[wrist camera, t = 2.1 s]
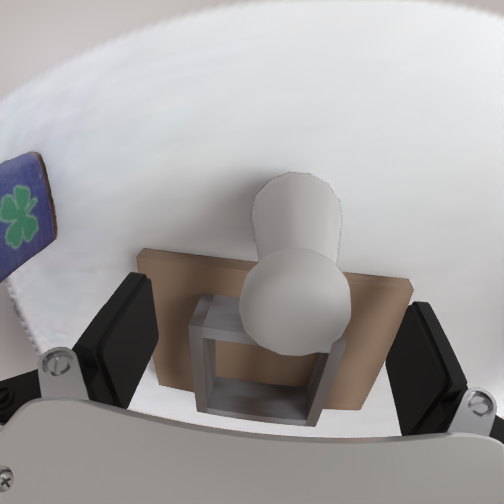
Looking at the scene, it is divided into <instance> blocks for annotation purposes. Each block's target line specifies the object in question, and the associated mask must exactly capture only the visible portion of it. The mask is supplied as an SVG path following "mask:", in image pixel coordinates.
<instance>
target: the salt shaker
mask: <svg viewBox="0 0 504 504" xmlns="http://www.w3.org/2000/svg"><path fill="white" fill-rule="evenodd" d="M251 216H252V222H253V228H254V234H255V240H256V246H257V252H258V261H259V263H258V264H257V265H256V266H255V267H254V268H253V269H251V270H250V271H249V272H248V274H247V276H246V278H245V281H244V284H243V288H242V293H241V297H240V301H239V313H240V316H241V320H242V323H243V326H244V330H245V332H246V333H247V334H248V335H250V336H251V337H252V338H253V339H254V340H255V341H256V342H257V343H258V344H259V345H260V346H262V347H264V348H267V349H269V350H271V351H274V352H276V353H278V354H281V355H291V356H303V355H307V354H311V353H315V352H319V351H322V350H324V349H325V348H327V347H328V346H330V345H331V344H332V343H334V342H335V341H336V340H337V339H339V338H340V337H341V336H342V334H343V332H344V330H345V328H346V327H347V325H348V323H349V321H350V319H351V298H350V288H349V285H348V282H347V279H346V278H345V276H344V275H343V273H342V272H341V270H340V269H339V267H338V266H337V259H338V251H339V243H340V235H341V226H342V214H341V207H340V201H339V199H338V198H337V196H336V195H335V193H334V192H333V190H332V189H331V187H330V186H329V184H328V183H326V182H324V181H322V180H321V179H319V178H317V177H315V176H313V175H311V174H309V173H296V172H288V173H285V174H283V175H281V176H278V177H276V178H274V179H272V180H270V181H269V182H268V183H267V184H266V185H265V186H264V187H263V188H262V189H261V190H260V191H259V192H258V194H257V195H256V196H255V200H254V205H253V209H252V214H251Z"/></svg>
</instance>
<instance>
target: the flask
mask: <svg viewBox="0 0 504 504" xmlns="http://www.w3.org/2000/svg"><path fill="white" fill-rule="evenodd" d="M56 237H57V223H56V215H55V206H54V203H53V199H52V196H51V189H50V185H49V180H48V175H47V172H46V167H45V164H44V162H43V160H42V157H41V155H40V154H39V153H38V152H28V153H26V154H23V155H21V156H19V157H16V158H14V159H11V160H8V161H5V162H3V163H1V164H0V283H1V282H2V281H3V280H4V279H5V278H7V277H8V276H9V275H10V274H11V273H12V272H14V271H15V270H16V269H17V268H19V267H20V266H21V265H22V264H24V263H25V262H26V261H28V260H29V259H30V258H32V257H33V256H35V255H36V254H37V253H39V252H40V251H42V250H43V249H44V248H45V247H47V246H48V245H49V244H50V243H52V242H53V241H54V240H55V239H56Z"/></svg>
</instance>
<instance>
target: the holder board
mask: <svg viewBox="0 0 504 504" xmlns="http://www.w3.org/2000/svg"><path fill="white" fill-rule="evenodd" d="M258 263H259V262H251V261H242V260H234V259H225V258H217V257H209V256H200V255H192V254H184V253H176V252H168V251H160V250H152V249H143V250H142V251H141V253H140V254H139V255H138V256H137V264H138V272H139V273H142V274H146V276H147V278H149V279H151V282H152V290H153V297H154V305H155V312H156V318H157V325H158V331H159V340H158V343H157V345H156V347H155V350H154V352H153V359H154V364H155V369H156V373H157V378H158V382H159V385H162V386H167V387H171V388H176V389H180V390H185V391H190V392H195V399H196V407H197V412H202V413H208V414H213V415H219V416H225V417H231V418H237V419H244V420H251V421H259V422H267V423H276V424H286V425H297V426H311V427H315V426H316V424H317V421H318V419H319V417H320V414H321V412H322V409H336V410H360V409H361V407H362V405H363V404H364V402H365V400H366V398H367V396H368V394H369V392H370V390H371V388H372V386H373V384H374V382H375V380H376V378H377V376H378V374H379V372H380V370H381V367H382V365H383V363H384V361H385V359H386V357H387V354H388V352H389V350H390V348H391V345H392V343H393V341H394V338H395V336H396V334H397V331H398V329H399V326H400V324H401V322H402V319H403V316H404V314H405V311H406V309H407V306H408V304H409V301H410V298H411V295H412V293H413V290H414V289H413V287H412V285H411V283H410V281H409V279H402V278H393V277H383V276H374V275H365V274H356V273H347V272H342V273H343V275H344V276H345V278H346V279H347V282H348V285H349V288H350V298H351V319H350V321H349V323H348V325H347V327H346V328H345V330H344V332H343V334H342V336H341V337H340V338H339V339H337V340H336V341H335V342H334V343H332V344H331V345H330V346H328V347H327V348H325V349H324V350H322V351H319V352H315V353H311V354H307V355H303V356H291V355H281V354H278V353H276V352H274V351H271V350H269V349H267V348H264V347H262V346H260V345H259V344H258V343H257V342H256V341H255V340H254V339H253V338H252V337H251V336H250V335H248V334H247V333H246V332H245V330H244V326H243V323H242V320H241V316H240V313H239V301H240V297H241V293H242V288H243V284H244V281H245V278H246V276H247V274H248V272H249V271H250V270H251V269H253V268H254V267H255V266H256V265H257V264H258Z"/></svg>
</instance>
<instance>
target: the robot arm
mask: <svg viewBox="0 0 504 504" xmlns="http://www.w3.org/2000/svg"><path fill="white" fill-rule="evenodd" d="M158 340H159V331H158V325H157V318H156V312H155V305H154V297H153V290H152V282H151V279H149V278H147V276H146V274H142V273H135V272H130V273H129V274H128V276H127V277H126V278H125V279H124V281H123V282H122V283H121V284H120V286H119V287H118V288H117V290H116V291H115V292H114V294H113V295H112V296H111V298H110V299H109V300H108V302H107V303H106V304H105V305H104V306H103V307H102V308H101V309H100V311H99V312H98V313H97V315H96V316H95V318H94V319H93V320H92V322H91V323H90V324H89V326H88V327H87V329H86V330H85V331H84V333H83V334H82V335H81V337H80V338H79V340H78V341H77V343H76V344H75V345H74V347H73V348H72V350H71V349H69V348H67V347H56V348H52V349H50V350H48V351H47V352H45V353H44V354H43V355H42V356H41V357H40V359H39V361H38V369H37V370H34V371H31V372H28V373H25V374H21V375H18V376H15V377H12V378H9V379H6V380H3V381H0V504H504V420H503V419H502V418H500V417H498V416H497V415H496V411H497V406H496V402H495V400H494V398H493V396H492V395H491V394H490V393H489V392H487V391H486V390H484V389H481V388H476V387H474V388H470V389H469V390H468V387H467V385H466V384H467V383H468V382H467V380H466V378H465V375H464V373H463V371H462V369H461V366H460V364H459V362H458V360H457V358H456V356H455V353H454V351H453V349H452V347H451V345H450V343H449V341H448V339H447V337H446V335H445V333H444V331H443V329H442V327H441V325H440V323H439V321H438V319H437V317H436V315H435V313H434V311H433V310H432V308H431V306H430V304H429V303H428V302H413V303H412V305H409V306H408V307H407V309H406V312H405V314H404V317H403V319H402V322H401V324H400V327H399V329H398V331H397V334H396V336H395V339H394V341H393V343H392V345H391V348H390V350H389V352H388V354H387V357H386V362H385V365H386V369H387V373H388V377H389V381H390V385H391V389H392V394H393V398H394V402H395V407H396V411H397V416H398V420H399V425H400V430H401V434H402V436H392V437H371V438H319V437H296V436H282V435H270V434H259V433H250V432H242V431H234V430H227V429H220V428H213V427H207V426H201V425H196V424H190V423H185V422H180V421H175V420H170V419H165V418H161V417H157V416H152V415H148V414H143V413H139V412H135V411H131V410H127V408H128V406H129V404H130V402H131V399H132V397H133V395H134V393H135V391H136V388H137V386H138V384H139V382H140V380H141V377H142V375H143V373H144V371H145V369H146V367H147V364H148V362H149V360H150V358H151V356H152V354H153V352H154V350H155V347H156V345H157V343H158Z"/></svg>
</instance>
